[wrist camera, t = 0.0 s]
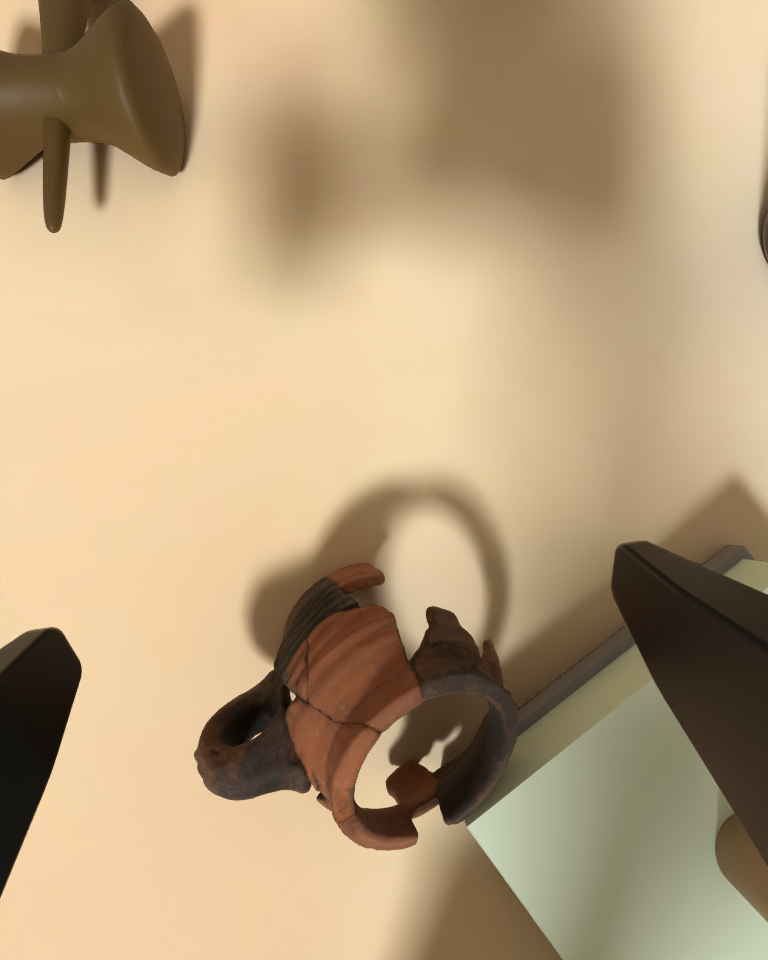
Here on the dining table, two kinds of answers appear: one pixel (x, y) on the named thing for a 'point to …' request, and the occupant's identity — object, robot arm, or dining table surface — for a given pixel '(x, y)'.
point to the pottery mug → (358, 714)
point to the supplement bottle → (765, 236)
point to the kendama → (88, 96)
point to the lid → (625, 828)
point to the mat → (605, 654)
